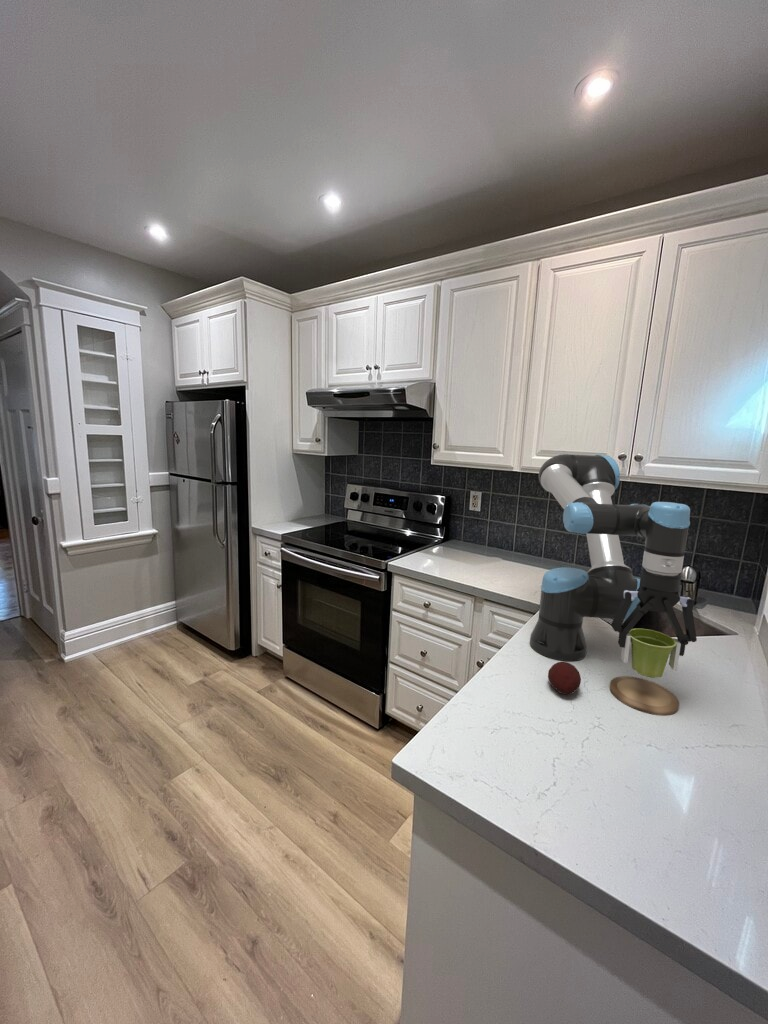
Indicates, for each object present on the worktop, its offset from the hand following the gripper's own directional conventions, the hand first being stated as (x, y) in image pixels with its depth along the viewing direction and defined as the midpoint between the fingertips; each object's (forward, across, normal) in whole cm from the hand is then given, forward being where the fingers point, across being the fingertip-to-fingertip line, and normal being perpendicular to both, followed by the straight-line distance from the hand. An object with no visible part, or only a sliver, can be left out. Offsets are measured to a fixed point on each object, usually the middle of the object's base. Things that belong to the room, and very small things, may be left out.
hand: (647, 663), depth 98 cm
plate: (+8, 0, 0) cm, 8 cm away
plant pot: (+2, 0, 0) cm, 2 cm away
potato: (+9, -18, -3) cm, 20 cm away
